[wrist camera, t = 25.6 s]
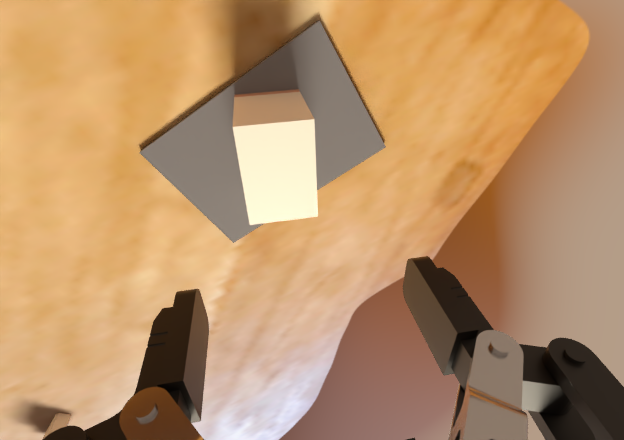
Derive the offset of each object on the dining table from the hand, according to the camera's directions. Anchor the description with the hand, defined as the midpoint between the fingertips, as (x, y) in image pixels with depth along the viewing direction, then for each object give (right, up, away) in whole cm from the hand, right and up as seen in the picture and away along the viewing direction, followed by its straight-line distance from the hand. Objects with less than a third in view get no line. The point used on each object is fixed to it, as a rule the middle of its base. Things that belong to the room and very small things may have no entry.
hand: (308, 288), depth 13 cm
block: (-2, +6, +12) cm, 14 cm away
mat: (-4, +10, +20) cm, 22 cm away
